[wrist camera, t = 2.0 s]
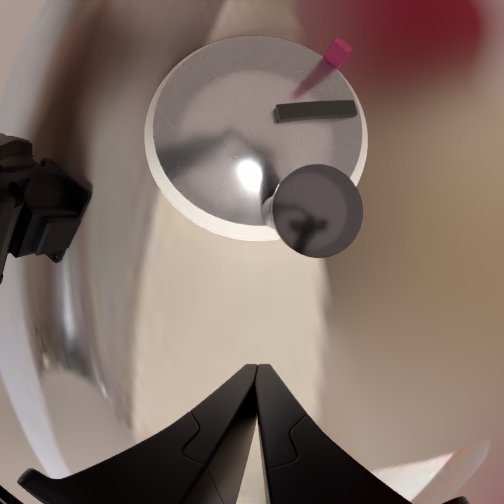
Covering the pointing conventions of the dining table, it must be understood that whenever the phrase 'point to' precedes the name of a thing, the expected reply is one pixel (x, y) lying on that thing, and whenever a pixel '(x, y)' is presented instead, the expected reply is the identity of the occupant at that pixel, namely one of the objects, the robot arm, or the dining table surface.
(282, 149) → the capstan dial
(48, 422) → the dining table surface
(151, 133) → the dial plinth
